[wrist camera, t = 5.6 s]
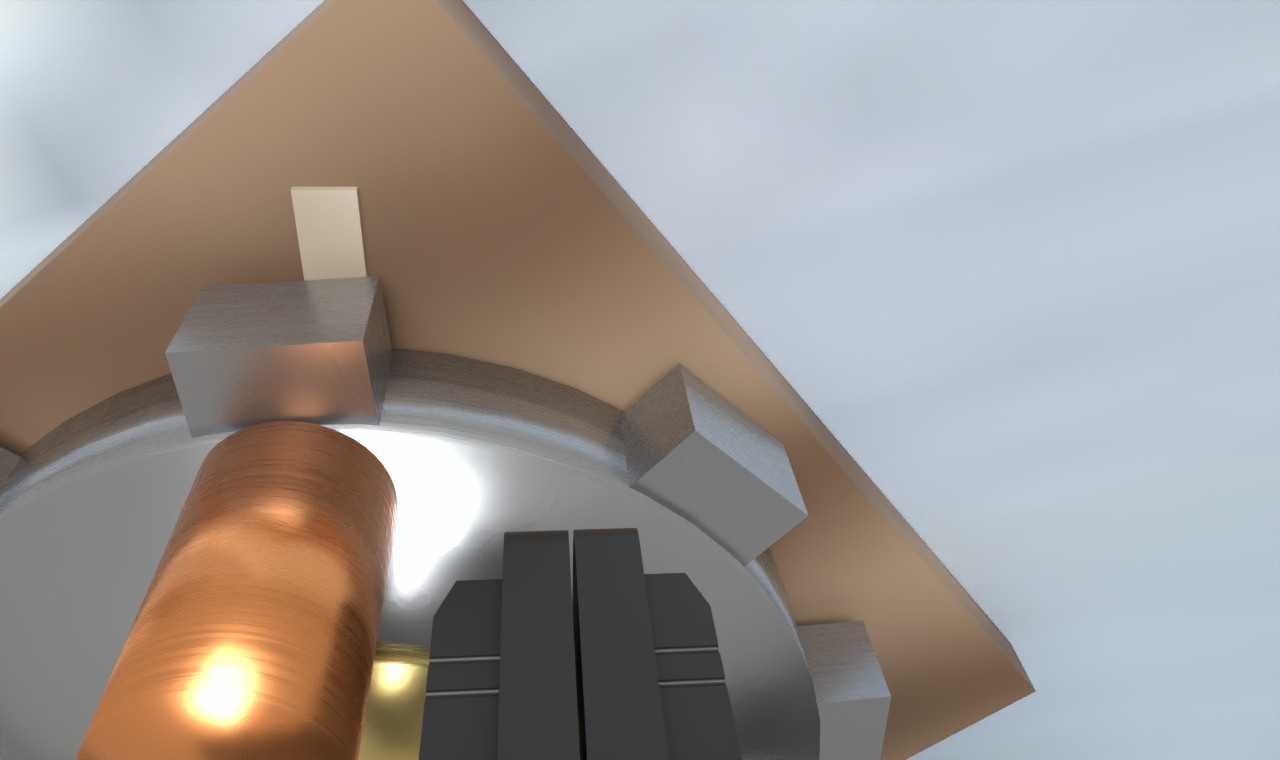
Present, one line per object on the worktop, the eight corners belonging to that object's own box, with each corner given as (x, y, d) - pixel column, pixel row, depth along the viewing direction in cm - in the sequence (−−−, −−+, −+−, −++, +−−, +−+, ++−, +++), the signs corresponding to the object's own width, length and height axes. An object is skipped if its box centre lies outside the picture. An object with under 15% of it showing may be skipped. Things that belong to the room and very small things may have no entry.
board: (1010, 643, 21) (1037, 695, 20) (396, 977, 25) (390, 1034, 24) (401, -71, 12) (390, -49, 11) (-343, 615, 17) (-401, 676, 16)
